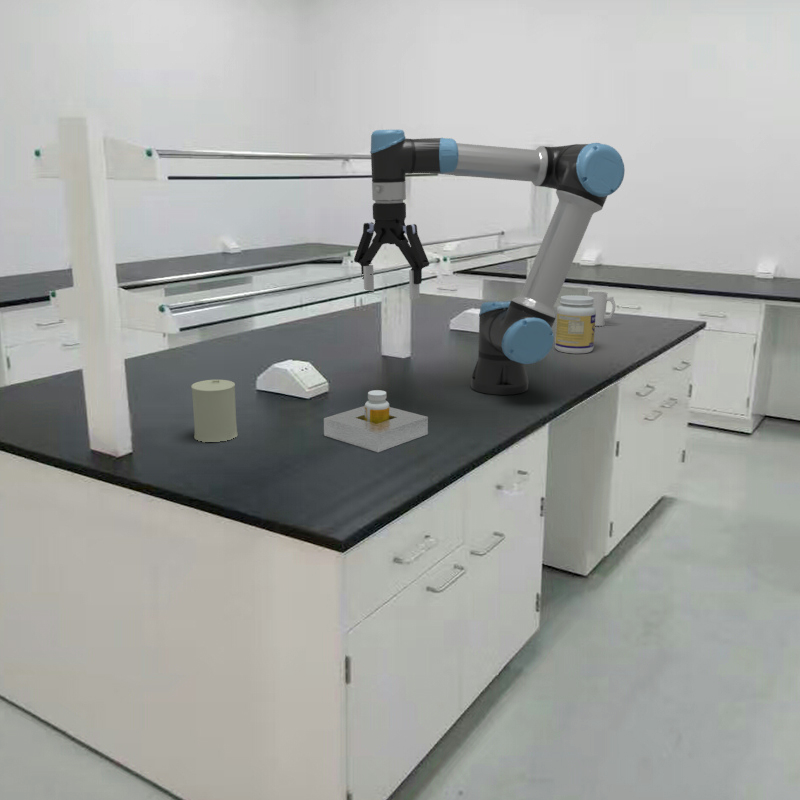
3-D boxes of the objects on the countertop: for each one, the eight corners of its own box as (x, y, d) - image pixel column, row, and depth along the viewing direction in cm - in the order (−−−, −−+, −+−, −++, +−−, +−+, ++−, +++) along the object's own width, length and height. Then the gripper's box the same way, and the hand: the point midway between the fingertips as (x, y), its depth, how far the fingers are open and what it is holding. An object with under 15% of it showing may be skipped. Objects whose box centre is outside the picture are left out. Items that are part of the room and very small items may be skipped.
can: (240, 429, 185) (238, 377, 182) (234, 443, 176) (231, 388, 173) (198, 429, 185) (195, 377, 182) (190, 443, 176) (186, 388, 173)
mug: (584, 326, 305) (586, 293, 301) (588, 322, 310) (591, 290, 307) (611, 328, 300) (614, 295, 297) (615, 325, 306) (618, 292, 303)
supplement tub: (596, 354, 259) (600, 300, 255) (557, 354, 260) (560, 300, 255) (589, 346, 271) (592, 294, 266) (551, 345, 271) (554, 294, 267)
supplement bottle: (359, 434, 182) (359, 392, 179) (376, 429, 186) (376, 387, 183) (377, 440, 179) (377, 397, 176) (394, 434, 182) (394, 392, 180)
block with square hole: (374, 419, 193) (374, 402, 192) (427, 434, 183) (427, 416, 182) (324, 435, 181) (323, 418, 180) (377, 452, 171) (377, 433, 170)
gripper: (336, 201, 192) (340, 293, 198) (423, 203, 177) (424, 303, 183) (358, 200, 197) (361, 289, 203) (444, 201, 182) (444, 298, 188)
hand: (391, 296), depth 193 cm, fingers open, 13 cm apart
